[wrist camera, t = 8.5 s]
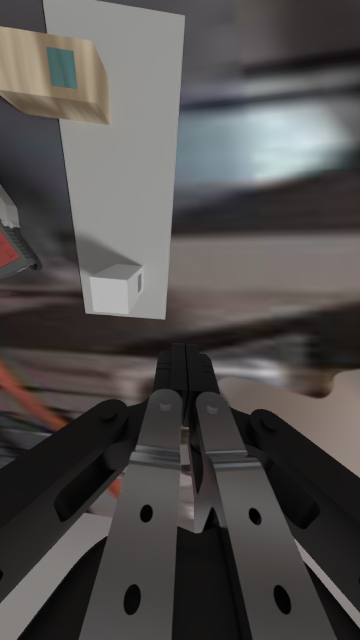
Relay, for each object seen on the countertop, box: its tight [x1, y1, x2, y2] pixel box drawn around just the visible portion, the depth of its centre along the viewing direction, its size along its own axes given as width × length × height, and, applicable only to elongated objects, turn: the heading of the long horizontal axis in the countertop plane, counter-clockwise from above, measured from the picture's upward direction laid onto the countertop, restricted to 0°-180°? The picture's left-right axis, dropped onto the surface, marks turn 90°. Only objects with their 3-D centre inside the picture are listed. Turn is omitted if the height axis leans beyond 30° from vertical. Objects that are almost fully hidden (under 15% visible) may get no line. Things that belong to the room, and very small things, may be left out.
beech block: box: [0, 26, 110, 125], centre depth 19 cm, size 4×4×10 cm
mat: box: [43, 0, 185, 319], centre depth 25 cm, size 14×34×1 cm, turn 175°
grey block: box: [90, 264, 143, 314], centre depth 25 cm, size 4×4×10 cm
